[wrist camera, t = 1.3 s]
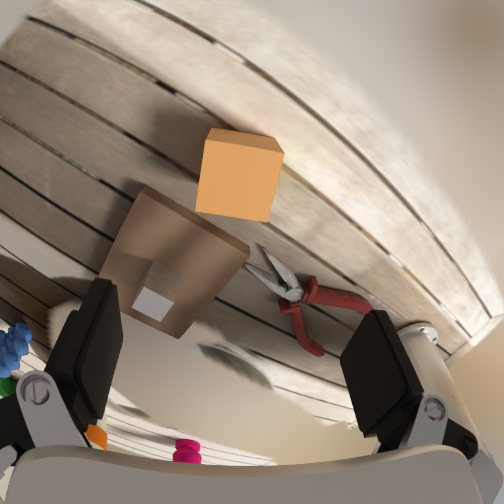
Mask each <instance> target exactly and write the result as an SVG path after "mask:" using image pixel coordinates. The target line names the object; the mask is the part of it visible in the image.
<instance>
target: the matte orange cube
mask: <svg viewBox="0 0 504 504" xmlns="http://www.w3.org/2000/svg"><path fill="white" fill-rule="evenodd" d="M284 154H285V153H284V152H283V150H282V149H281V147H280V146H279V144H278V142H277V141H276V139H275V138H270V137H265V136H260V135H255V134H249V133H244V132H238V131H232V130H226V129H219V128H213V127H212V128H211V130H210V132H209V134H208V136H207V138H206V140H205V147H204V153H203V159H202V166H201V173H200V180H199V187H198V194H197V201H196V209H195V211H196V212H203V213H210V214H217V215H223V216H230V217H237V218H243V219H249V220H256V221H262V222H268V218H269V214H270V210H271V206H272V202H273V198H274V194H275V190H276V186H277V182H278V178H279V174H280V170H281V166H282V162H283V158H284Z"/></svg>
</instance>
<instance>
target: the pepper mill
mask: <svg viewBox="0 0 504 504" xmlns="http://www.w3.org/2000/svg"><path fill="white" fill-rule="evenodd" d="M175 448H176V449H177V450H176V451H175V452H174V453H173V462H182V463H192V464H201V460H202V457H201V455H200V454H199V453H198V452H199V451H200V444H199V443H198V442H196V441H193V440H186V439H182V440H177V441H176V445H175Z"/></svg>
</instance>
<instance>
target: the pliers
mask: <svg viewBox="0 0 504 504" xmlns="http://www.w3.org/2000/svg"><path fill="white" fill-rule="evenodd" d="M263 250H264V252H265V253H266V255H267V256H268V258H269V259H270V261H271V262H272V264H273V265H274V267H275V268H276V270H277V271H278V273H279V274H280V276H281V277H282V278H283V280H284V281H285V282H286V283H287V284H286V283H285V284H283V285H280V284H278V278H276V277H274V276H272V275H271V274H269V273H266V272H264V271H262V270H260V269H257V268H255V267H253V266H251V265H248V264H246V263H244V265H245V266H246V267H247V268H248V269H249V270H250V271H251V272H252V273H253V274H254V275H255V276H256V277H258V278H259V279H260V280H261V281H262V282H263V283H264V284H265V285H266V286H267V287H268V288H270V289H271V290H272V291H274V292H275V293H277V294H279V295H280V296H282V297H284V299H280V300H279V306H280V310H281V312H282V313H284V314H286V313H290V314H291V318H292V322H293V326H294V330H295V334H296V337H297V340H298V342H299V344H300V345H301V346H302V347H303V348H304V349H305V350H307V351H308V352H310V353H312V354H314V355H315V356H318V357H320V356H323V355H324V349H323V347H322V346H320V345H319V344H317V343H316V342H314V341H313V340H311V339H310V338H309V337H308V336H307V334H306V333H305V329H304V324H303V319H302V314H301V309H300V305H299V299H302V301H306V302H310V303H311V302H313V303H319V304H324V305H330V306H336V307H342V308H347V309H353V310H356V311H359V312H361V313H363V314H364V315H366V314H367V313H369V311H370V310H374V309H373V307H372V306H371V305H370V304H369V302H368V301H367V300H366V299H365V298H363V297H361V296H359V295H356V294H353V293H349V292H344V291H339V290H334V289H329V288H324V287H319V286H318V283H317V280H316V277H314V276H310V278H309V280H308V282H307V283H302V285H301V284H300V283H299V281H298V280H297V278H296V277H295V276H294V274H293V273H292V272H291V270H290V269H289V268H288V267H287V266H286V265H284V264H283V263H282V262H281V261H280V260H278V259H277V258H276V257H275V256H273V255H272V254H271V253H270V252H269V251H267V250H266V249H265V248H264V247H263Z"/></svg>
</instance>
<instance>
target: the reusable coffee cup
mask: <svg viewBox="0 0 504 504" xmlns="http://www.w3.org/2000/svg"><path fill="white" fill-rule="evenodd" d="M106 424H107V414H106V413H105V412H104V416H103V418H102V420H99V419H98V421H97V426H94V425H90V424H89V425H88V430H87V432H85V434H86V436H87V437H88V439H89V441H90V443H91V444H92V446H93V448H95V449H100V450H106V451H107V433H106Z"/></svg>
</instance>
